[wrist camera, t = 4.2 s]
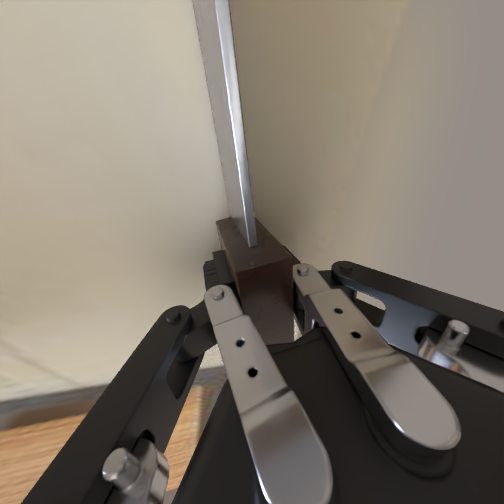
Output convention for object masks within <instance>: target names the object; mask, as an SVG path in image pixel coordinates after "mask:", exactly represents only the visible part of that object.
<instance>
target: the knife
mask: <svg viewBox="0 0 504 504" xmlns="http://www.w3.org/2000/svg"><path fill="white" fill-rule="evenodd" d="M192 1H193V7H194V12H195V18H196V24H197V29H198V35H199V40H200V46H201V52H202V57H203V63H204V69H205V74H206V80H207V85H208V91H209V97H210V102H211V108H212V113H213V119H214V125H215V130H216V136H217V142H218V147H219V153H220V158H221V164H222V170H223V175H224V181H225V186H226V192H227V198H228V203H229V209H230V215H231V218H229V219H224V220H219V221H216V225H217V230H218V234H219V239H220V243H221V248H222V250H223V251H224V254H225V257H226V260H227V263H228V266H229V269H230V272H231V275H232V278H233V281H234V285H235V290H236V295H237V300H238V303H239V305H240V306H241V308H242V310H243V312H244V313H248V315H249V317H250V318H251V320H252V322H253V324H254V326H255V327H256V329H257V331H258V333H259V335H260V337H261V338H262V340H263V342H264V344H265V345H269V344H280V343H291V342H294V304H293V257H292V255H291V254H290V253H289V252H288V251H287V250H286V249H285V248H284V247H283V246H282V245H281V244H280V243H279V242H278V241H277V240H276V239H275V238H274V237H273V236H272V235H271V233H270V232H269V231H268V230H267V229H266V228H265V227H264V226H263V225H262V224H261V223H260V222H259V221H258V220H257V219H256V218H255V217H254V210H253V201H252V193H251V184H250V176H249V167H248V159H247V150H246V141H245V133H244V124H243V116H242V107H241V98H240V90H239V81H238V73H237V64H236V56H235V47H234V38H233V30H232V21H231V13H230V4H229V0H192Z"/></svg>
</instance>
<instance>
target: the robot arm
mask: <svg viewBox="0 0 504 504" xmlns="http://www.w3.org/2000/svg"><path fill="white" fill-rule="evenodd" d="M282 246H283V245H282ZM283 247H284V248H285V249H286V250H287V251H288V252H289V253H290V254H291V255H292V257H293V304H294V319H295V321H296V323H297V325H298V328H299V330H300V332H301V334H302V337H300V338H299V339H297V340H296V341H294V342H291V343H280V344H269V345H265V344H264V342H263V340H262V338H261V337H260V335H259V333H258V331H257V329H256V327H255V326H254V324H253V322H252V320H251V318H250V317H249V315H248V313H244V312H243V310H242V308H241V306H240V305H239V303H238V300H237V295H236V290H235V285H234V281H233V278H232V275H231V272H230V269H229V266H228V263H227V260H226V257H225V254H224V251H223V250H220V251H215V252H212V253H213V257H214V260H211V261H207V262H205V264H204V266H203V270H204V278H205V287H206V292H205V294H204V299H203V301H202V302H201V303H199V304H198V305H196V306H195V307H193V308H191V309H189V308H188V307H186V306H182V305H179V306H174V307H171V308H169V309H168V310H166V311H165V312H163V313H162V314H161V316H160V317H159V318H158V320H157V321H156V322H155V324H154V325H153V326H152V328H151V329H150V330H149V332H148V333H147V334H146V336H145V337H144V338H143V340H142V341H141V343H140V344H139V345H138V347H137V348H136V349H135V351H134V352H133V353H132V355H131V356H130V357H129V359H128V360H127V361H126V363H125V364H124V365H123V367H122V368H121V370H120V371H119V372H118V374H117V375H116V376H115V378H114V379H113V380H112V382H111V383H110V384H109V386H108V387H107V388H106V390H105V391H104V392H103V394H102V395H101V396H100V398H99V399H98V401H97V402H96V403H95V405H94V406H93V407H92V409H91V410H90V411H89V413H88V414H87V415H86V417H85V418H84V419H83V421H82V422H81V423H80V425H79V426H78V427H77V429H76V430H75V432H74V433H73V434H72V436H71V437H70V438H69V440H68V441H67V442H66V444H65V445H64V446H63V448H62V449H61V450H60V452H59V453H58V454H57V456H56V457H55V459H54V460H53V461H52V463H51V464H50V465H49V467H48V468H47V469H46V471H45V472H44V473H43V475H42V476H41V477H40V479H39V480H38V481H37V483H36V484H35V485H34V487H33V488H32V490H31V491H30V492H29V494H28V495H27V496H26V498H25V499H24V500H23V502H22V503H21V504H163V501H164V494H165V491H166V487H167V483H168V478H169V465H168V461H167V459H166V457H165V456H164V452H165V449H166V447H167V444H168V442H169V440H170V437H171V435H172V432H173V430H174V427H175V425H176V423H177V420H178V418H179V415H180V413H181V410H182V408H183V406H184V403H185V401H186V398H187V396H188V393H189V391H190V389H191V386H192V384H193V381H194V379H195V376H196V374H197V372H198V369H199V367H200V364H201V362H202V359H203V357H204V353H205V351H207V350H208V349H210V348H211V347H213V346H214V345H216V344H218V347H219V350H220V353H221V357H222V360H223V363H224V366H225V370H226V373H227V376H228V378H227V380H226V382H225V383H224V385H223V387H222V390H221V392H220V394H219V396H218V399H217V401H216V403H215V405H214V408H213V410H212V412H211V415H210V417H209V419H208V421H207V424H206V426H205V428H204V431H203V433H202V435H201V437H200V440H199V442H198V444H197V447H196V449H195V451H194V453H193V456H192V458H191V460H190V463H189V465H188V467H187V469H186V472H185V474H184V476H183V479H182V481H181V483H180V485H179V488H178V490H177V492H176V495H175V497H174V500H173V502H172V504H504V312H503V311H500V310H496V309H493V308H490V307H487V306H484V305H481V304H478V303H475V302H472V301H469V300H466V299H463V298H460V297H457V296H454V295H450V294H447V293H444V292H441V291H438V290H435V289H432V288H429V287H426V286H423V285H420V284H417V283H413V282H411V281H407V280H404V279H401V278H398V277H395V276H392V275H389V274H386V273H383V272H380V271H377V270H374V269H371V268H367V267H364V266H362V265H359V264H355V263H352V262H348V261H338V262H335V263H334V264H333V265H332V269H331V270H326V271H317V270H316V269H315V268H314V267H313V266H312V265H309V264H305V263H301V262H300V261H299V260H298V259H297V258H296V257H295V256H294V255H293V254H292V253H291V252H290V251H289V250H288V249H287V248H286V247H285V246H283ZM357 291H359V292H362V293H364V294H367V295H369V296H371V297H374V298H376V299H379V300H380V301H382V302H383V303H384V304H385V306H386V310H382V309H379V308H377V307H375V306H372V305H370V304H368V303H366V302H364V301H361V300H359V299H357V298H356V296H357ZM387 342H388V343H390V344H392V345H390V344H388V343H387ZM393 345H394V346H393Z"/></svg>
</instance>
